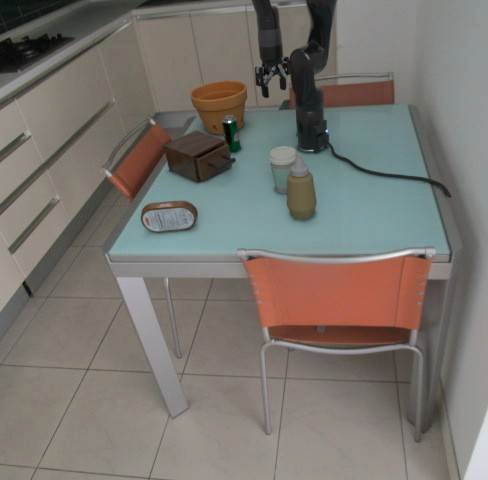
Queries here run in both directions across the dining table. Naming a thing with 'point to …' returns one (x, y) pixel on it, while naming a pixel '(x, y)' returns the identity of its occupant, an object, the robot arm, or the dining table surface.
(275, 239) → the dining table surface
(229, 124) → the soda can
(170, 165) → the cabinet
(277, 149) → the coffee cup
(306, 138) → the robot arm
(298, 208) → the squeeze bottle
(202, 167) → the drawer
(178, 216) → the tin
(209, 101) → the flower pot
